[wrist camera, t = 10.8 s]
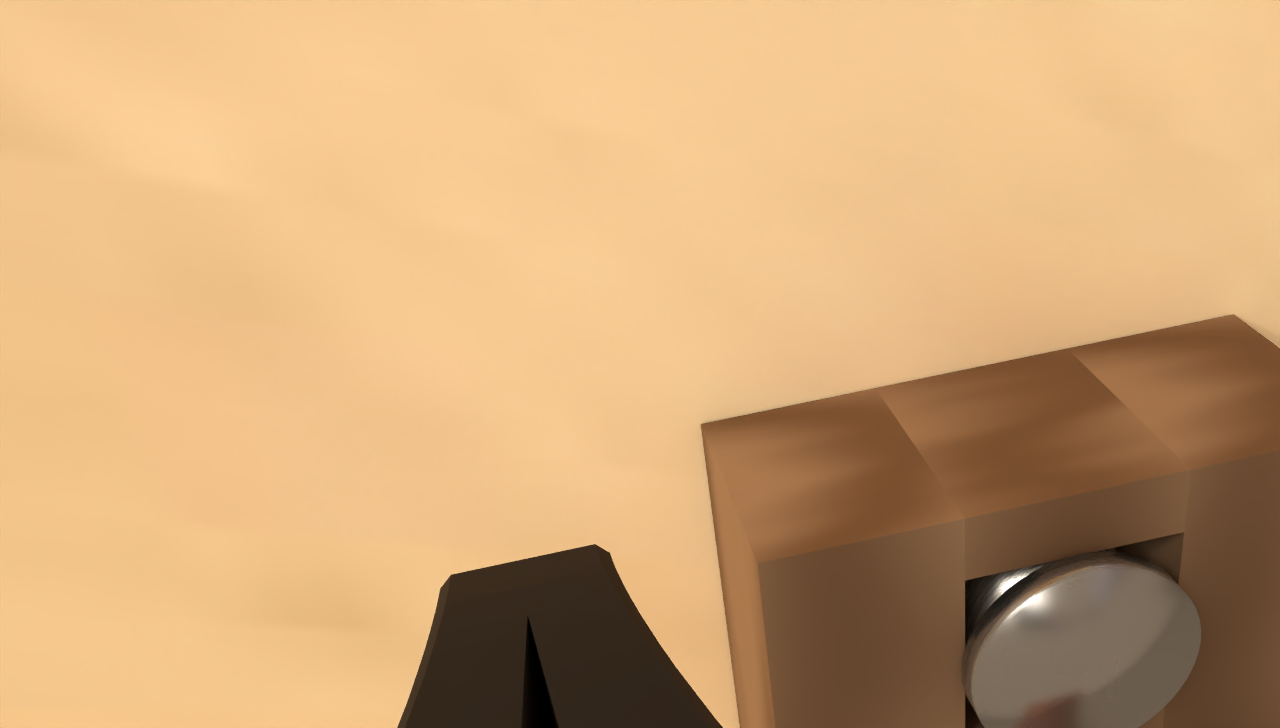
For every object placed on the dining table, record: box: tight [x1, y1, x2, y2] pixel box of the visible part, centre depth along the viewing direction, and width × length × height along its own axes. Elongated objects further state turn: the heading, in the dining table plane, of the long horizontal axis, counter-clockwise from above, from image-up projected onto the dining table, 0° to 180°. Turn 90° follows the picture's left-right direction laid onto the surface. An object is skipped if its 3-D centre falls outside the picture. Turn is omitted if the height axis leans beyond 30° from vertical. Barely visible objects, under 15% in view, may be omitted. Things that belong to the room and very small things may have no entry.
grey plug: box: [961, 548, 1201, 728], centre depth 21 cm, size 4×4×4 cm
